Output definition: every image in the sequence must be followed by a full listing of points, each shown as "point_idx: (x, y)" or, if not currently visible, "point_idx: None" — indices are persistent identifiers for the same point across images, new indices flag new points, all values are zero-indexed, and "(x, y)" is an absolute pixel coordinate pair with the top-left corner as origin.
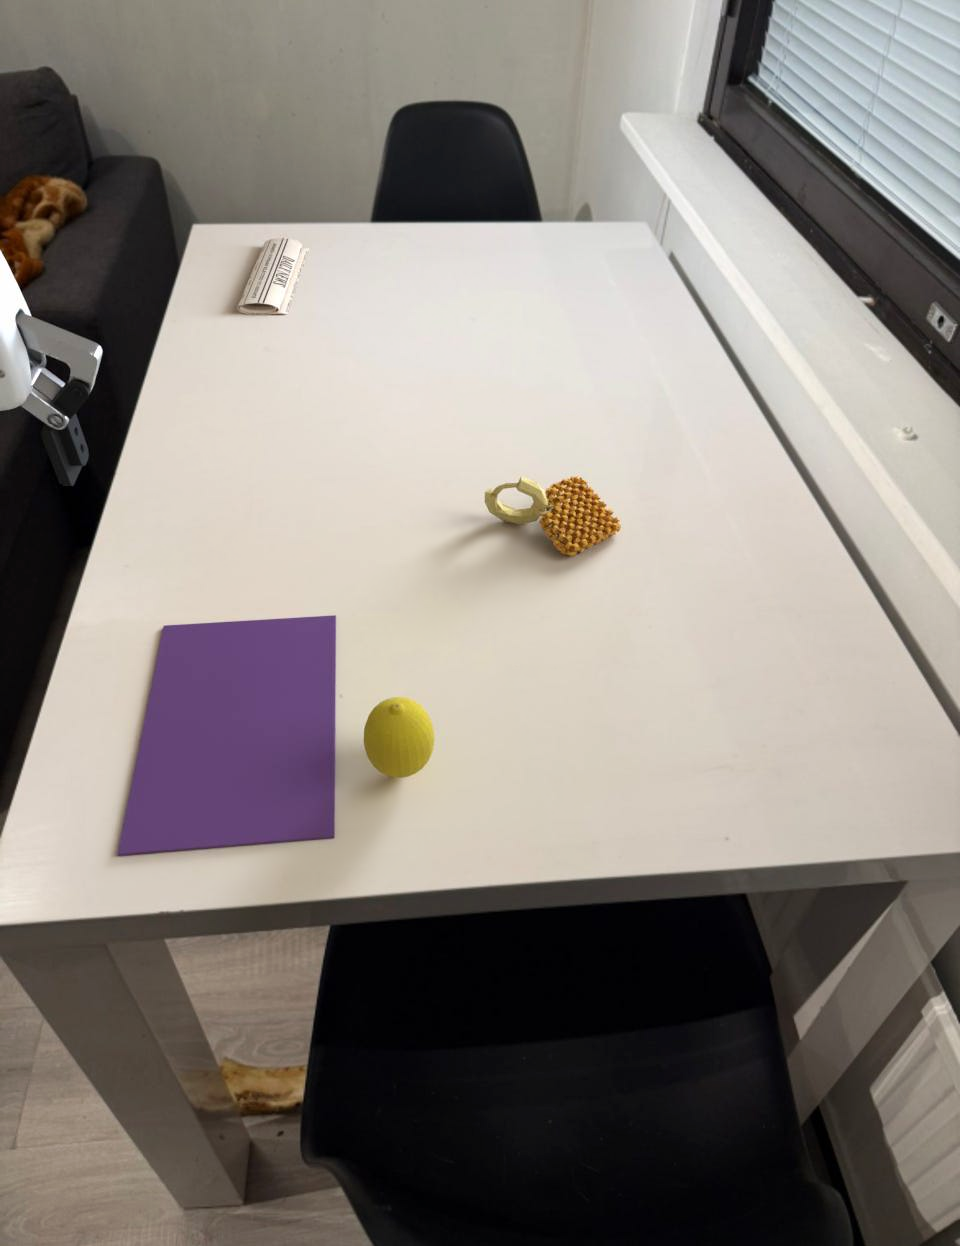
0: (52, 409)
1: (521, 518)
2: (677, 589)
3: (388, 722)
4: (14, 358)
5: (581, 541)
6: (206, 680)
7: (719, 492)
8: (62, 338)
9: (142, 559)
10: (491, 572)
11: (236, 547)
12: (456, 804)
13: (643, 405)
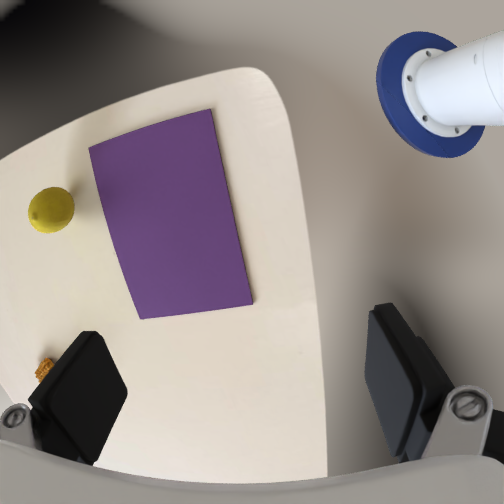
0: (1, 433)
1: None
2: (7, 333)
3: (37, 206)
4: None
5: (42, 365)
6: (202, 257)
7: (19, 388)
8: None
9: (291, 359)
10: None
11: (230, 373)
12: (42, 184)
13: None
